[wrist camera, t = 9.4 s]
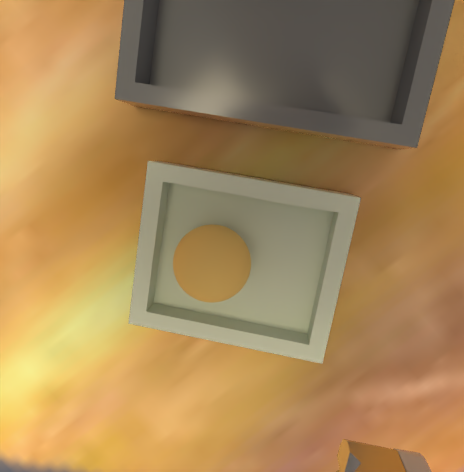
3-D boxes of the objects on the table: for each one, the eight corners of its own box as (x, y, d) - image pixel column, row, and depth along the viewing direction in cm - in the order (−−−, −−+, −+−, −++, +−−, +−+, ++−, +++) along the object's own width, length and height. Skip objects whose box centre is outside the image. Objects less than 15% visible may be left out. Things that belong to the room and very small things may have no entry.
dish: (154, -78, 22) (135, -114, 19) (446, -42, 21) (473, -74, 18) (134, 106, 24) (114, 98, 21) (399, 149, 23) (416, 147, 20)
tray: (159, 160, 25) (147, 160, 23) (353, 194, 24) (360, 198, 22) (141, 309, 27) (128, 323, 25) (318, 345, 26) (322, 363, 24)
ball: (218, 216, 25) (162, 216, 22) (273, 234, 22) (218, 236, 19) (207, 282, 26) (152, 291, 23) (259, 307, 23) (204, 321, 20)
